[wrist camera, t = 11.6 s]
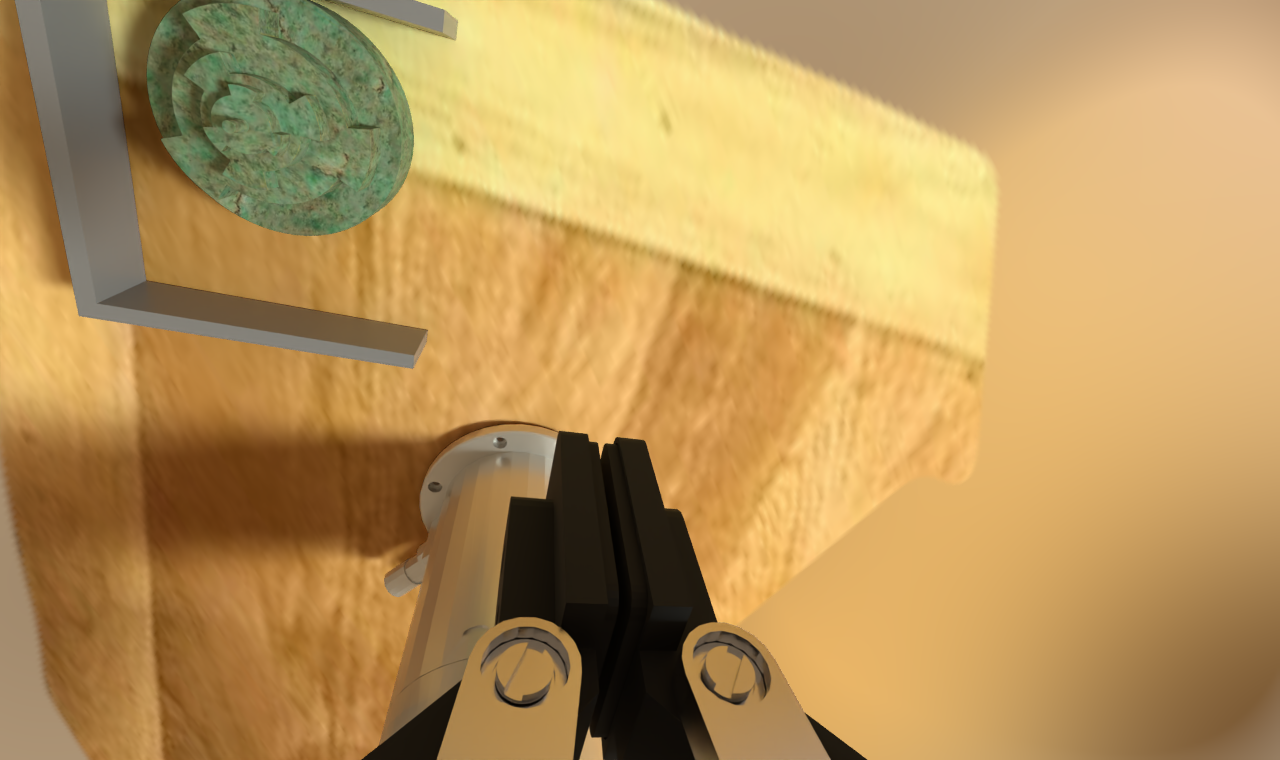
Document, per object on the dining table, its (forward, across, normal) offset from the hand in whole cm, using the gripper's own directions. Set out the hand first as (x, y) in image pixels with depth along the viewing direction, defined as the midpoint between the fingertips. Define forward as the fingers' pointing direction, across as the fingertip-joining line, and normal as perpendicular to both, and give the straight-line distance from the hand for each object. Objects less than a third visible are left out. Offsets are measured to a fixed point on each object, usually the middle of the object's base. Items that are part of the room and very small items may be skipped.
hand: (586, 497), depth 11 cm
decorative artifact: (+23, +13, -3) cm, 26 cm away
